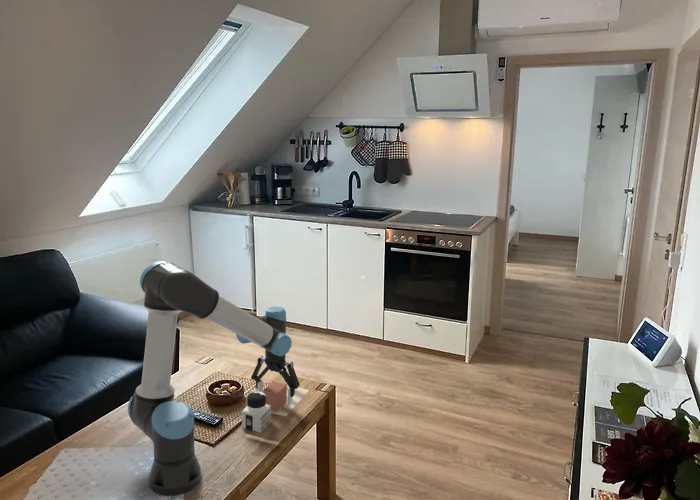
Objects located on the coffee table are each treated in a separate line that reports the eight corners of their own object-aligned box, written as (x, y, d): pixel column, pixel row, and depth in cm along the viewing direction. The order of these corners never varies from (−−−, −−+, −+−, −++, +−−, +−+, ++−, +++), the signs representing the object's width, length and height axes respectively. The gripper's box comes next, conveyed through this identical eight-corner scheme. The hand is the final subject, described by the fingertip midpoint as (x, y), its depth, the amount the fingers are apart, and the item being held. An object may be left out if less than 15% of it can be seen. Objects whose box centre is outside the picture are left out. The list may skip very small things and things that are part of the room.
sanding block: (277, 413, 201) (277, 393, 199) (262, 409, 203) (262, 390, 201) (286, 402, 208) (286, 384, 206) (272, 399, 210) (272, 381, 208)
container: (260, 435, 188) (261, 401, 185) (241, 430, 191) (241, 397, 188) (271, 424, 195) (271, 391, 192) (252, 419, 198) (252, 387, 195)
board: (285, 419, 199) (285, 416, 199) (252, 411, 203) (252, 408, 203) (309, 392, 219) (309, 389, 219) (278, 385, 224) (278, 383, 223)
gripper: (309, 349, 199) (308, 401, 204) (251, 338, 207) (251, 389, 212) (301, 357, 192) (299, 411, 198) (241, 345, 200) (242, 398, 205)
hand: (275, 400), depth 205 cm, fingers open, 12 cm apart
